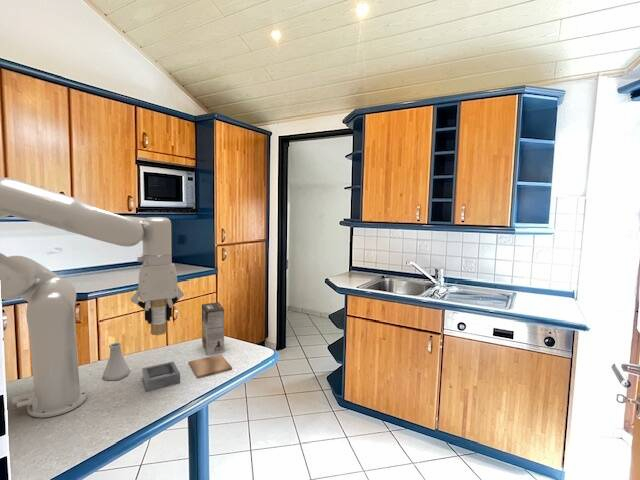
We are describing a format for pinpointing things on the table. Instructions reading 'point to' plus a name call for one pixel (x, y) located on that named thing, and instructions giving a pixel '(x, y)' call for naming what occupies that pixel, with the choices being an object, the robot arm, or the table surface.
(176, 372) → the steel collar holder
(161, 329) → the sprinkles bottle
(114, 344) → the flask
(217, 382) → the table surface
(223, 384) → the table surface
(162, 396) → the table surface
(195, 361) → the walnut board
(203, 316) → the coffee box
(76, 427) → the table surface
